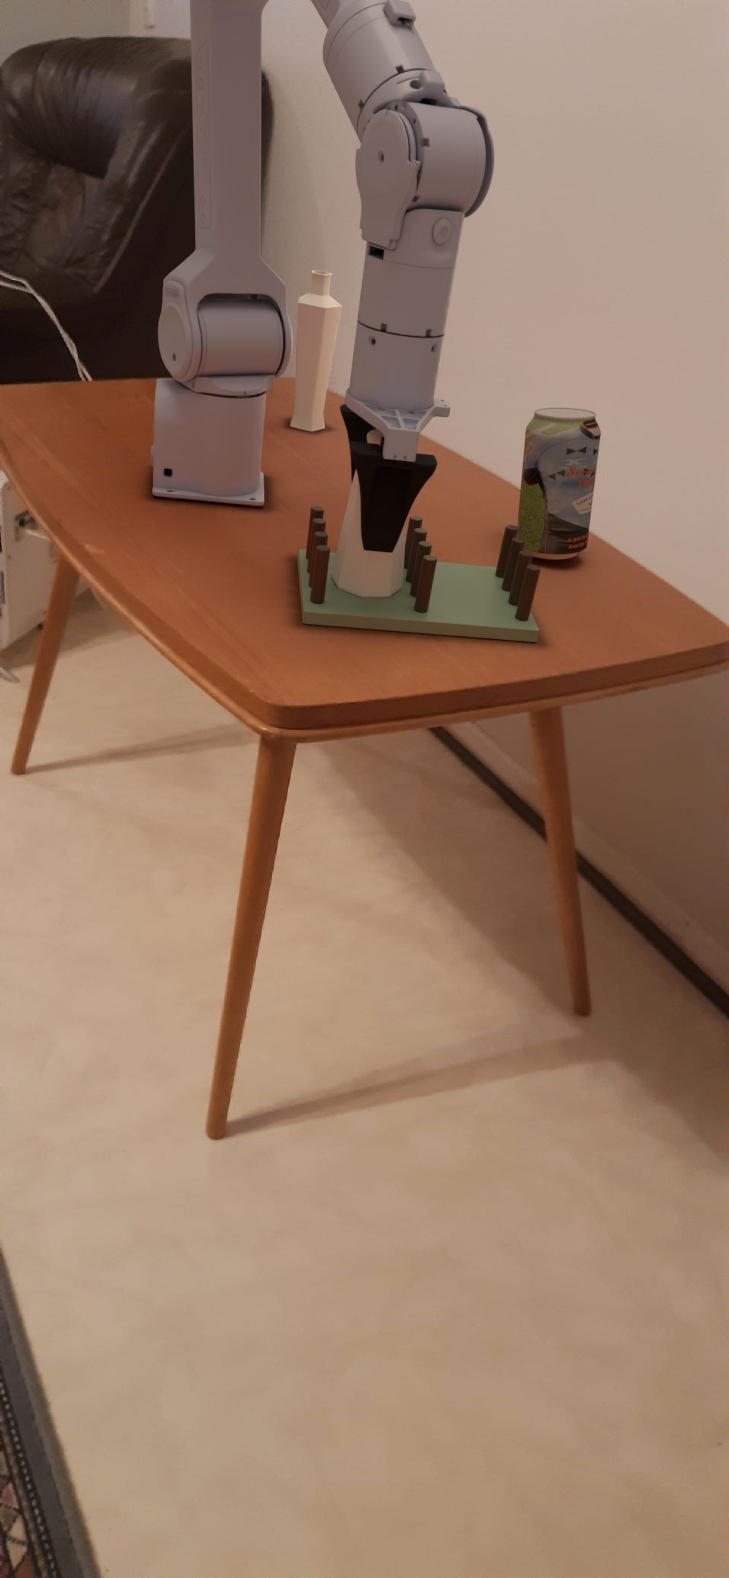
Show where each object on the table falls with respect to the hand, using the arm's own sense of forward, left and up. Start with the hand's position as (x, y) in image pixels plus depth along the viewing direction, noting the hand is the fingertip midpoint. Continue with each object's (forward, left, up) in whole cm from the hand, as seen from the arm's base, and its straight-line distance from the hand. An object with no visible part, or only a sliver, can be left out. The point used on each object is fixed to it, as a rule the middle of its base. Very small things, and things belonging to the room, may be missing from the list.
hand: (372, 528), depth 74 cm
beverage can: (+17, +12, -5) cm, 21 cm away
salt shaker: (0, 0, -4) cm, 4 cm away
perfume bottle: (-2, +42, -5) cm, 42 cm away
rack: (+4, 0, -5) cm, 7 cm away
